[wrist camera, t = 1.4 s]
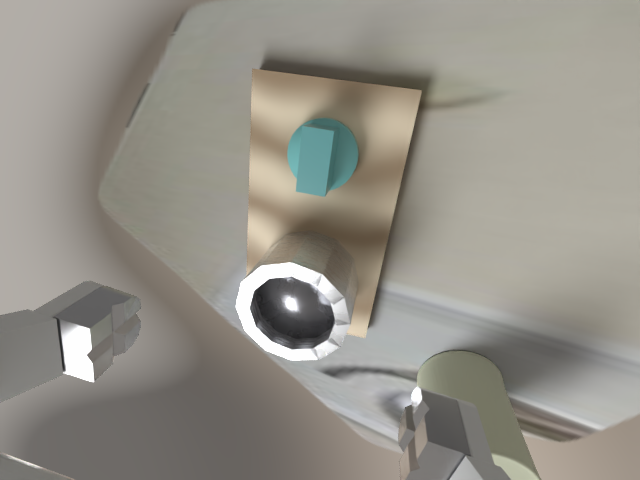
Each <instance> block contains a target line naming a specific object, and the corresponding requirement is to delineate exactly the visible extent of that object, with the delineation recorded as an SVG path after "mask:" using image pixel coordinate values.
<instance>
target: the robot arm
mask: <svg viewBox="0 0 640 480" xmlns="http://www.w3.org/2000/svg"><path fill="white" fill-rule="evenodd" d="M140 309H141V303H140V299H139V298H138V297H137V296H134V295H131V294H128V293H125V292H122V291H119V290H116V289H114V288H111V287H108V286H104V285H101V284H98V283H95V282H93V281H85V282H83V283H81V284H79V285H77V286H76V287H74V288H72V289H71V290H69V291H67V292H65V293H63V294H62V295H60V296H58V297H57V298H55V299H53V300H51V301H50V302H48V303H46V304H44V305H43V306H41V307H39V308H38V309H36V310H34V311H31V310H23V311H18V312H14V313H9V314H5V315H0V403H1V402H3V401H5V400H8V399H10V398H12V397H14V396H17V395H19V394H21V393H23V392H26V391H28V390H30V389H32V388H35V387H37V386H39V385H41V384H44V383H46V382H48V381H50V380H53V379H55V378H57V377H59V376H62V375H63V373H66V374H69V375H73V376H76V377H79V378H82V379H85V380H89V381H92V382H94V381H95V380H96V379H97V378H99V377H100V376H101V375H102V374H103V373H104V372H105V371H106V370H107V369H108V368H109V367H110V366H111V365H112V364H113V360H114V356H116V355H119V354H122V353H125V352H126V351H127V350H128V349H129V348H130V347H131V346H132V345H133V343H134V342H135V340H136V339H137V337H138V335H139V331H140V328H141V321H140V319H139V317H138V316H137V314H136V313H137V311H139V310H140ZM411 403H412V405H409V406H407V407H405V409H404V411H403V414H402V416H401V420H400V424H399V433H398V440H399V446H400V447H401V449H402V451H403V452H404V453H403V455H402V457H401V459H400V461H399V464H400V480H511V479H510V477H509V476H508V475H507V474H506V472H505V471H504V470H503V469H502V468H501V467H500V466H497V465H495V464H494V461H493V457H492V454H491V451H490V448H489V445H488V442H487V439H486V435H485V432H484V429H483V426H482V423H481V420H480V416H479V413H478V410H477V407H476V406H475V405H474V404H473V403H470V402H467V401H463V400H460V399H457V398H452V397H450V396H446V395H443V394H440V393H437V392H433V391H430V390H427V389H424V388H421V387H417V388H416V389H414V391H413V393H412V395H411ZM0 480H75V479H72V478H69V477H67V476H64V475H61V474H58V473H56V472H53V471H51V470H48V469H45V468H42V467H40V466H37V465H34V464H32V463H29V462H26V461H23V460H21V459H18V458H15V457H13V456H10V455H7V454H5V453H2V452H0Z"/></svg>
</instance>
